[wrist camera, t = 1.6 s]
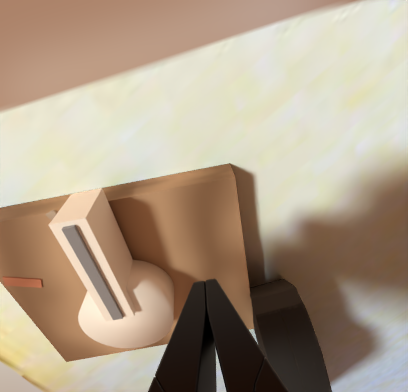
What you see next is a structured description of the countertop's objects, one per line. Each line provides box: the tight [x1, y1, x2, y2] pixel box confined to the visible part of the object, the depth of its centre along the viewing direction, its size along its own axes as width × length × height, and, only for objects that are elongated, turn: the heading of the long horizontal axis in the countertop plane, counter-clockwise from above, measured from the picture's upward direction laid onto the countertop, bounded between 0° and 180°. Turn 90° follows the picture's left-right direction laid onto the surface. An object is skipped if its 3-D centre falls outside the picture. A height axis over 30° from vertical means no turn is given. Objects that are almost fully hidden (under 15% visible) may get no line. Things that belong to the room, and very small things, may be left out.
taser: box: [250, 279, 332, 392], centre depth 24 cm, size 4×18×15 cm
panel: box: [0, 163, 254, 362], centre depth 20 cm, size 17×15×2 cm
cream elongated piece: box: [49, 188, 174, 348], centre depth 16 cm, size 12×6×3 cm, turn 10°
